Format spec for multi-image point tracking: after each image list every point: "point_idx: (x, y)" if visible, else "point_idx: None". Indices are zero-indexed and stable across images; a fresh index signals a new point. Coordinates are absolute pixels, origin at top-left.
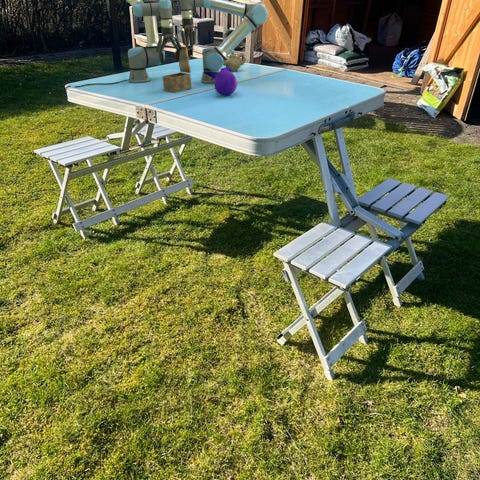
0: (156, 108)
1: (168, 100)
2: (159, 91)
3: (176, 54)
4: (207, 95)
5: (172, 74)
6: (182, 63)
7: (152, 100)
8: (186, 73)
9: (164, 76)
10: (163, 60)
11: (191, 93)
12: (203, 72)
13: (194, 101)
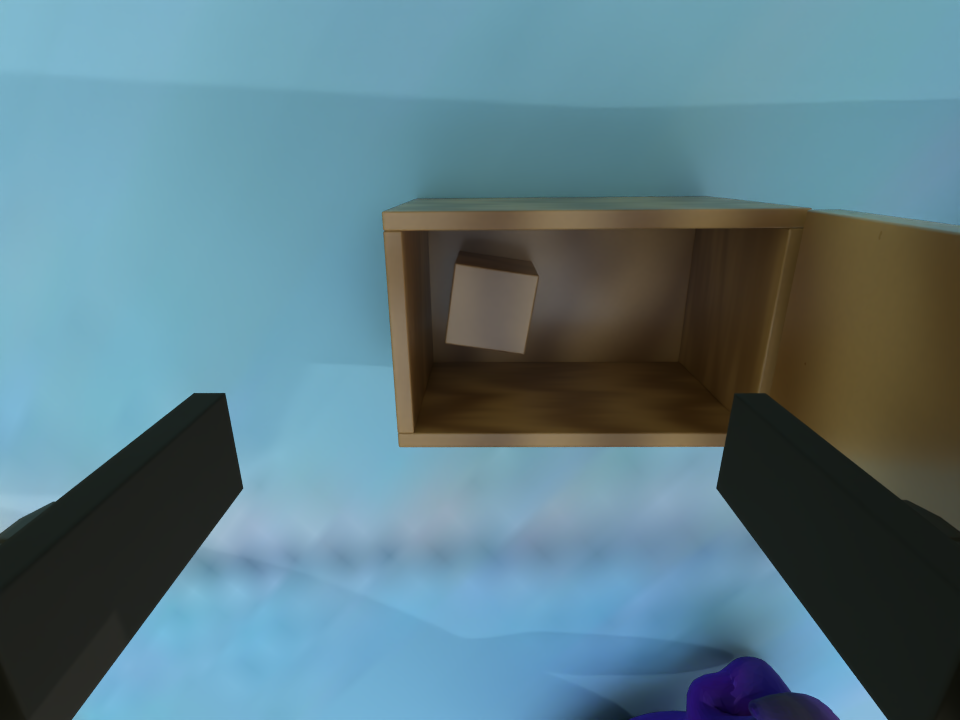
0: None
1: (214, 560)
2: (351, 186)
3: (840, 535)
4: (557, 652)
5: (591, 228)
6: (871, 372)
7: (95, 465)
8: (770, 368)
9: (386, 264)
10: (190, 541)
11: (524, 516)
12: (749, 708)
13: (354, 705)
